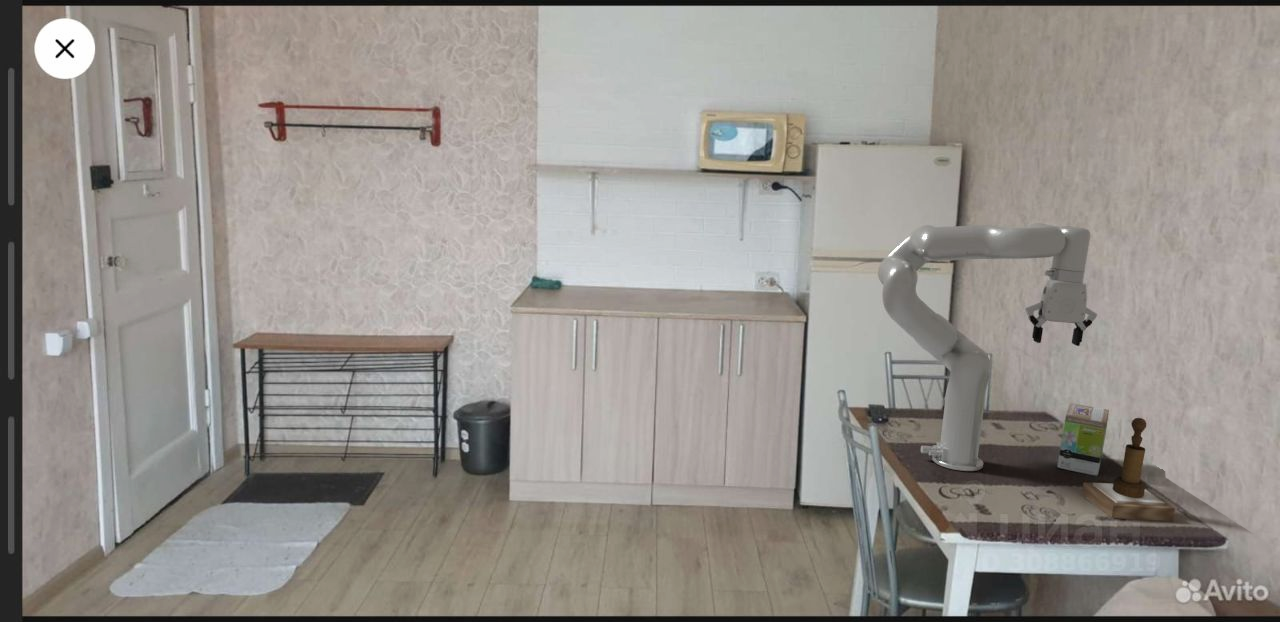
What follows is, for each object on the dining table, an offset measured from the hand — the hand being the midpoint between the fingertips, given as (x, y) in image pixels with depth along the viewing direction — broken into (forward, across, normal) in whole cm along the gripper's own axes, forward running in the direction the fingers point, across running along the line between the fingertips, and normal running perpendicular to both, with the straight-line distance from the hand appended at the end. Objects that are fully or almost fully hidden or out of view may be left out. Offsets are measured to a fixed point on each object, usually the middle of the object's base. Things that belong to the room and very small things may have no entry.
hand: (1056, 343), depth 225 cm
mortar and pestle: (+30, +12, -23) cm, 39 cm away
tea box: (+34, +14, +6) cm, 37 cm away
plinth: (+33, +12, -23) cm, 42 cm away
